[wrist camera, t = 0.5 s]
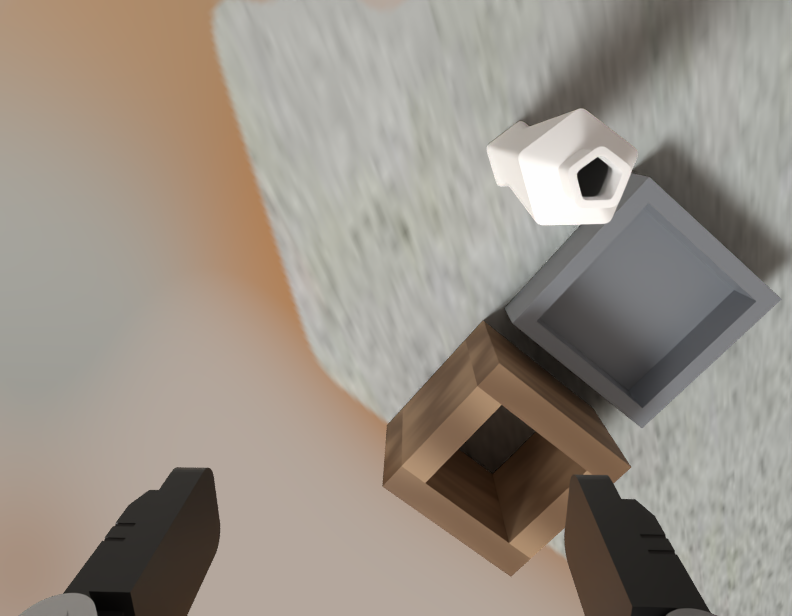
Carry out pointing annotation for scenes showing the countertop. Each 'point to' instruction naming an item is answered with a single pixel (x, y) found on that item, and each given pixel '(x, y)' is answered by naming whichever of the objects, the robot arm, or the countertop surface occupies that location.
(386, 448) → the wooden cubby box
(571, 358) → the tray
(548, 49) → the countertop surface
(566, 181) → the perfume bottle
